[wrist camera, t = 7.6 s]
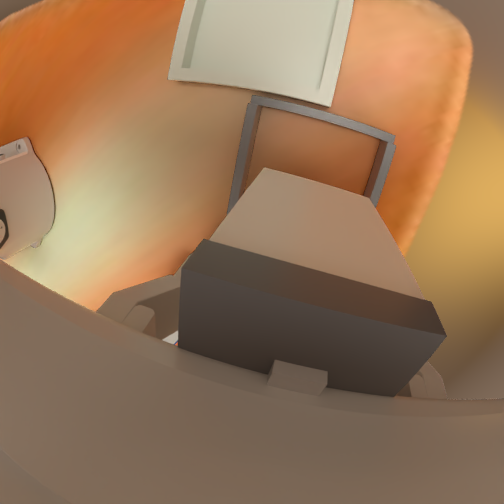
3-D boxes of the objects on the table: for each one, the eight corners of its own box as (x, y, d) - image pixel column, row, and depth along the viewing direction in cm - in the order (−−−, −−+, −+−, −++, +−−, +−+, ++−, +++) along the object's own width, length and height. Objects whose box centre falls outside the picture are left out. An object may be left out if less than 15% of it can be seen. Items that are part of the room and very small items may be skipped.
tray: (178, 81, 23) (167, 79, 21) (208, -36, 16) (200, -46, 14) (328, 107, 22) (330, 106, 20) (355, -19, 15) (359, -29, 13)
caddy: (233, 300, 15) (176, 444, 7) (263, 164, 11) (173, 278, 4) (317, 323, 14) (307, 475, 7) (370, 196, 11) (451, 348, 4)
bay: (219, 251, 31) (185, 308, 22) (249, 94, 23) (213, 85, 14) (342, 284, 30) (348, 352, 21) (396, 136, 22) (442, 153, 13)
